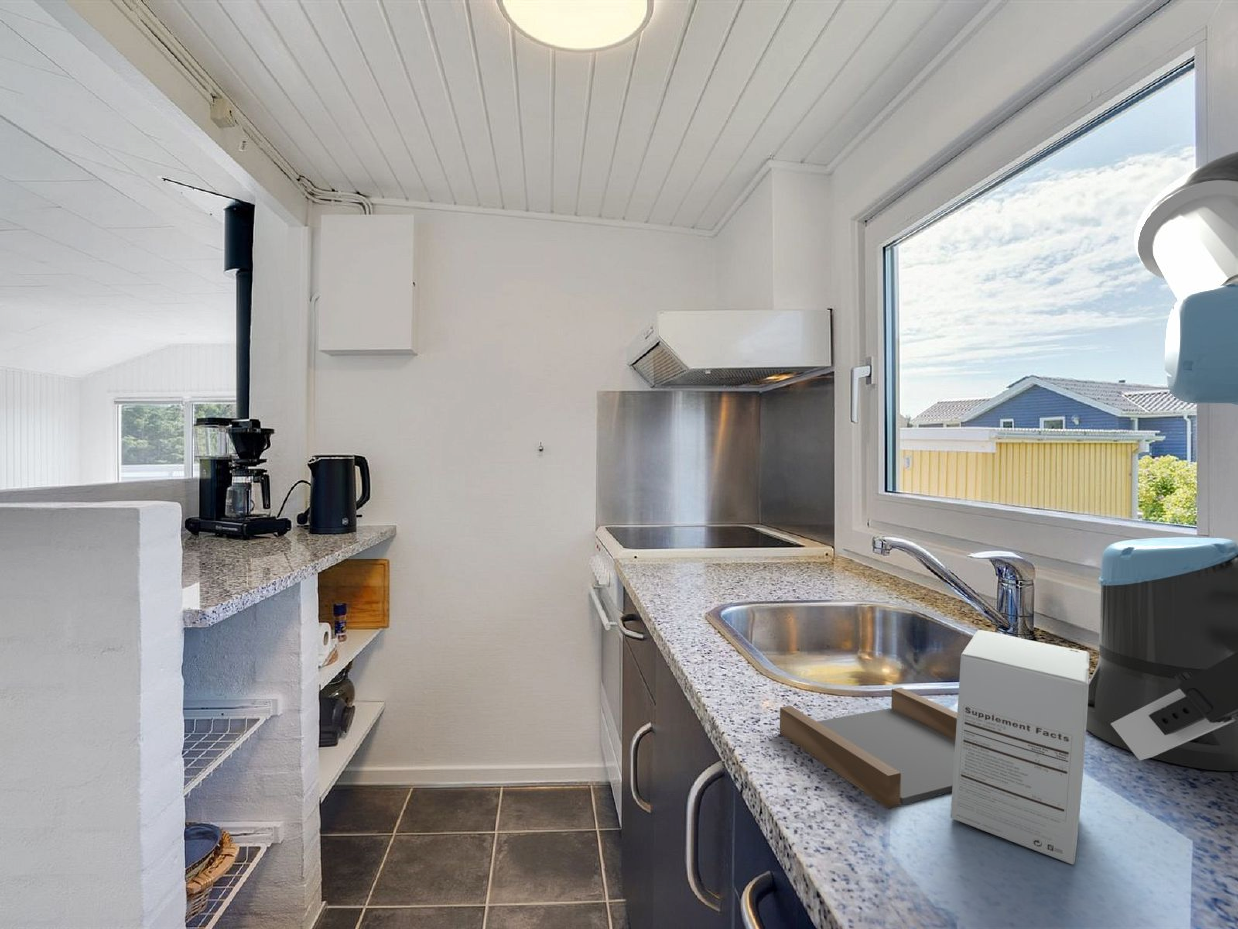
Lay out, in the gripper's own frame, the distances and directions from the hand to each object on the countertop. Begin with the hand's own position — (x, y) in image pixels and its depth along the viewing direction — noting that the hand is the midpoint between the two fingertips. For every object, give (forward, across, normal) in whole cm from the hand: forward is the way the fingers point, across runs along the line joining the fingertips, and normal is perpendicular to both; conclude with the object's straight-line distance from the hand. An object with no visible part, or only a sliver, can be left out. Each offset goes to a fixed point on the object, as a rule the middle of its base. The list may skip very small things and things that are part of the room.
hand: (1131, 740), depth 45 cm
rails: (+23, 0, +8) cm, 25 cm away
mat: (+23, 0, +8) cm, 25 cm away
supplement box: (+14, 0, -1) cm, 14 cm away
